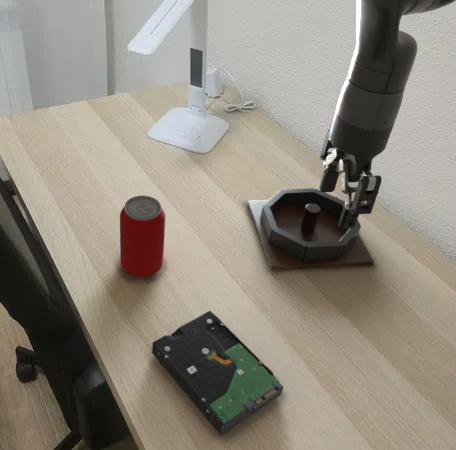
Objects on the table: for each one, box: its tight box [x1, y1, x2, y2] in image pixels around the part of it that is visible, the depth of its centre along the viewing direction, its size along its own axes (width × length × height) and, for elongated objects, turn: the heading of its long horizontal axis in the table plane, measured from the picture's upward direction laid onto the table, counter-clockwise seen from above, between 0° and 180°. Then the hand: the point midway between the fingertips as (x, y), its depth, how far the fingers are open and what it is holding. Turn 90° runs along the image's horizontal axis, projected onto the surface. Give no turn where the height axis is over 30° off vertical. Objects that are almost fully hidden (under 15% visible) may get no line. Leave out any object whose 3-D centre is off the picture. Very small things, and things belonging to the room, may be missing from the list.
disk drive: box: [151, 310, 284, 436], centre depth 72 cm, size 10×3×15 cm
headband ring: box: [260, 187, 362, 261], centre depth 94 cm, size 15×15×3 cm
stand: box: [246, 196, 375, 271], centre depth 93 cm, size 17×17×6 cm
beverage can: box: [119, 195, 166, 278], centre depth 84 cm, size 7×7×12 cm
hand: (335, 208), depth 83 cm, fingers open, 8 cm apart
